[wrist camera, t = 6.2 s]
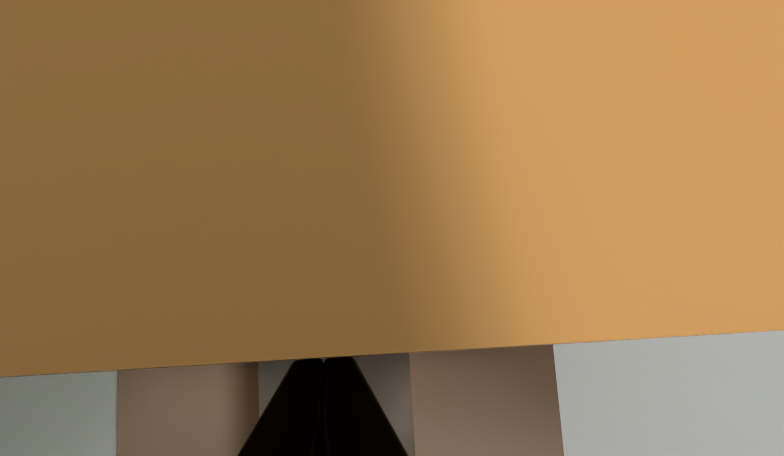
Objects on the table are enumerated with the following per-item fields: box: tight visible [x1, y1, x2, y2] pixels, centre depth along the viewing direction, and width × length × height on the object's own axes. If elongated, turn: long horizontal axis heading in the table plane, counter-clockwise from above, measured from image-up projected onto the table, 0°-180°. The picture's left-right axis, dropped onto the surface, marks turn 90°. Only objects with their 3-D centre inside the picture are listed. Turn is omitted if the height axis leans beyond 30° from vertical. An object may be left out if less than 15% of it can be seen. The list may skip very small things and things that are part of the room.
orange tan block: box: [0, 0, 784, 378], centre depth 10 cm, size 4×8×12 cm, turn 93°
